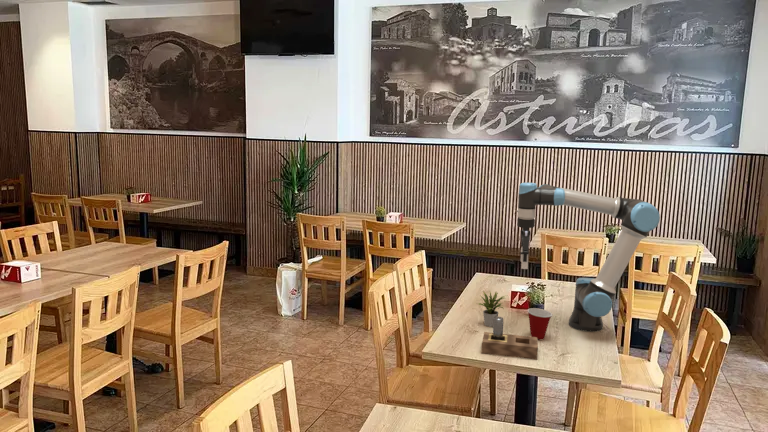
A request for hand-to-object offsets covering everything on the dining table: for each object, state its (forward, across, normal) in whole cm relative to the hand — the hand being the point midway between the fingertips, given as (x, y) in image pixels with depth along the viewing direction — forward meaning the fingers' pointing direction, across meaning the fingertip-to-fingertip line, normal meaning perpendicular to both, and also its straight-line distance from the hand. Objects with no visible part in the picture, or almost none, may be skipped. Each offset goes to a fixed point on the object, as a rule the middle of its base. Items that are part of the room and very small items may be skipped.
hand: (523, 265), depth 268 cm
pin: (+30, +24, -10) cm, 40 cm away
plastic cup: (+31, +5, +8) cm, 33 cm away
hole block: (+31, +25, -5) cm, 40 cm away
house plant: (+31, -4, -13) cm, 34 cm away
